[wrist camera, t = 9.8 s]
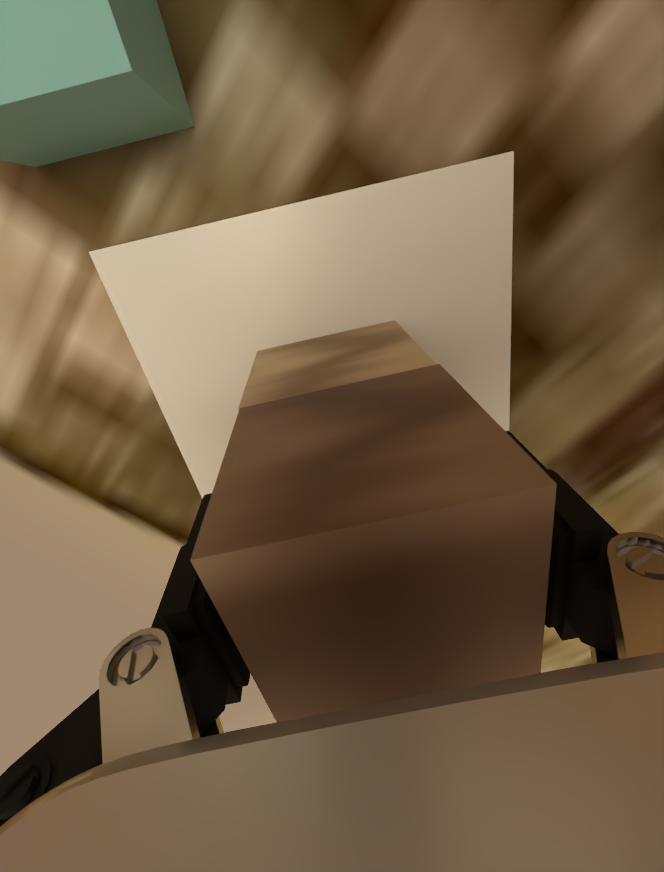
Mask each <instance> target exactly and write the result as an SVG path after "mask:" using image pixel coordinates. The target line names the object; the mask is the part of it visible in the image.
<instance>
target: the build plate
mask: <svg viewBox="0 0 664 872" xmlns="http://www.w3.org/2000/svg"><path fill="white" fill-rule="evenodd" d="M513 177H514V151H511V152H507V153H503V154H499V155H495V156H490V157H486V158H482V159H478V160H474V161H469V162H465V163H461V164H457V165H452V166H448V167H444V168H440V169H436V170H431V171H427V172H423V173H419V174H415V175H410V176H406V177H402V178H398V179H394V180H389V181H385V182H381V183H377V184H373V185H368V186H364V187H360V188H356V189H351V190H347V191H343V192H339V193H335V194H330V195H326V196H322V197H318V198H314V199H309V200H305V201H301V202H297V203H293V204H288V205H284V206H280V207H276V208H271V209H267V210H263V211H259V212H255V213H250V214H246V215H242V216H238V217H234V218H229V219H225V220H221V221H217V222H213V223H208V224H204V225H200V226H196V227H191V228H187V229H183V230H179V231H175V232H170V233H166V234H162V235H158V236H154V237H149V238H145V239H141V240H137V241H133V242H128V243H124V244H120V245H116V246H111V247H107V248H103V249H99V250H95V251H90V252H89V254H90V256H91V258H92V260H93V263H94V265H95V267H96V269H97V271H98V273H99V276H100V278H101V280H102V282H103V284H104V286H105V289H106V291H107V293H108V295H109V297H110V299H111V302H112V304H113V306H114V308H115V310H116V312H117V315H118V317H119V319H120V321H121V323H122V325H123V328H124V330H125V332H126V334H127V336H128V338H129V341H130V343H131V345H132V347H133V349H134V351H135V354H136V356H137V358H138V360H139V362H140V364H141V367H142V369H143V371H144V373H145V375H146V378H147V380H148V382H149V384H150V386H151V388H152V391H153V393H154V395H155V397H156V399H157V401H158V404H159V406H160V408H161V410H162V412H163V414H164V417H165V419H166V421H167V423H168V425H169V427H170V430H171V432H172V434H173V436H174V438H175V440H176V443H177V445H178V447H179V449H180V451H181V453H182V456H183V458H184V460H185V462H186V464H187V466H188V469H189V471H190V473H191V475H192V477H193V479H194V482H195V484H196V486H197V488H198V490H199V492H200V495H201V497H202V499H203V497H204V495H206V494H210V493H212V492H213V489H214V486H215V483H216V479H217V476H218V473H219V470H220V467H221V464H222V461H223V458H224V455H225V452H226V449H227V446H228V443H229V440H230V437H231V434H232V430H233V427H234V424H235V421H236V418H237V415H238V412H239V411H238V407H239V404H240V401H241V398H242V395H243V392H244V389H245V386H246V383H247V380H248V377H249V374H250V371H251V368H252V365H253V362H254V359H255V356H256V353H257V351H259V350H264V349H268V348H272V347H277V346H281V345H286V344H290V343H295V342H299V341H304V340H308V339H313V338H317V337H322V336H326V335H330V334H335V333H339V332H344V331H348V330H353V329H357V328H362V327H366V326H371V325H375V324H379V323H384V322H388V321H393V320H395V321H396V322H397V323H398V324H399V325H400V326H401V327H402V329H403V330H404V331H405V332H406V333H407V334H408V335H409V336H410V337H411V338H412V339H413V340H414V341H415V342H416V343H417V344H418V345H419V346H420V347H421V348H422V350H423V351H424V352H425V353H426V354H427V355H428V356H429V357H430V358H431V359H432V360H433V361H434V362H435V363H436V364H440V365H441V366H442V367H443V368H444V369H445V370H446V371H447V372H448V373H449V374H450V375H451V376H452V377H453V378H454V379H455V380H456V381H457V382H458V383H459V384H460V385H461V386H462V387H463V388H464V389H465V390H466V391H467V393H468V394H469V395H470V396H471V397H472V398H473V399H474V400H475V401H476V402H477V403H478V404H479V405H480V406H481V407H482V408H483V409H484V410H485V411H486V412H487V413H488V414H489V415H490V416H491V417H492V418H493V419H494V420H495V421H496V422H497V423H498V424H499V425H500V426H501V427H502V428H503V429H504V430H505V431H509V419H510V358H511V298H512V238H513Z"/></svg>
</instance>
